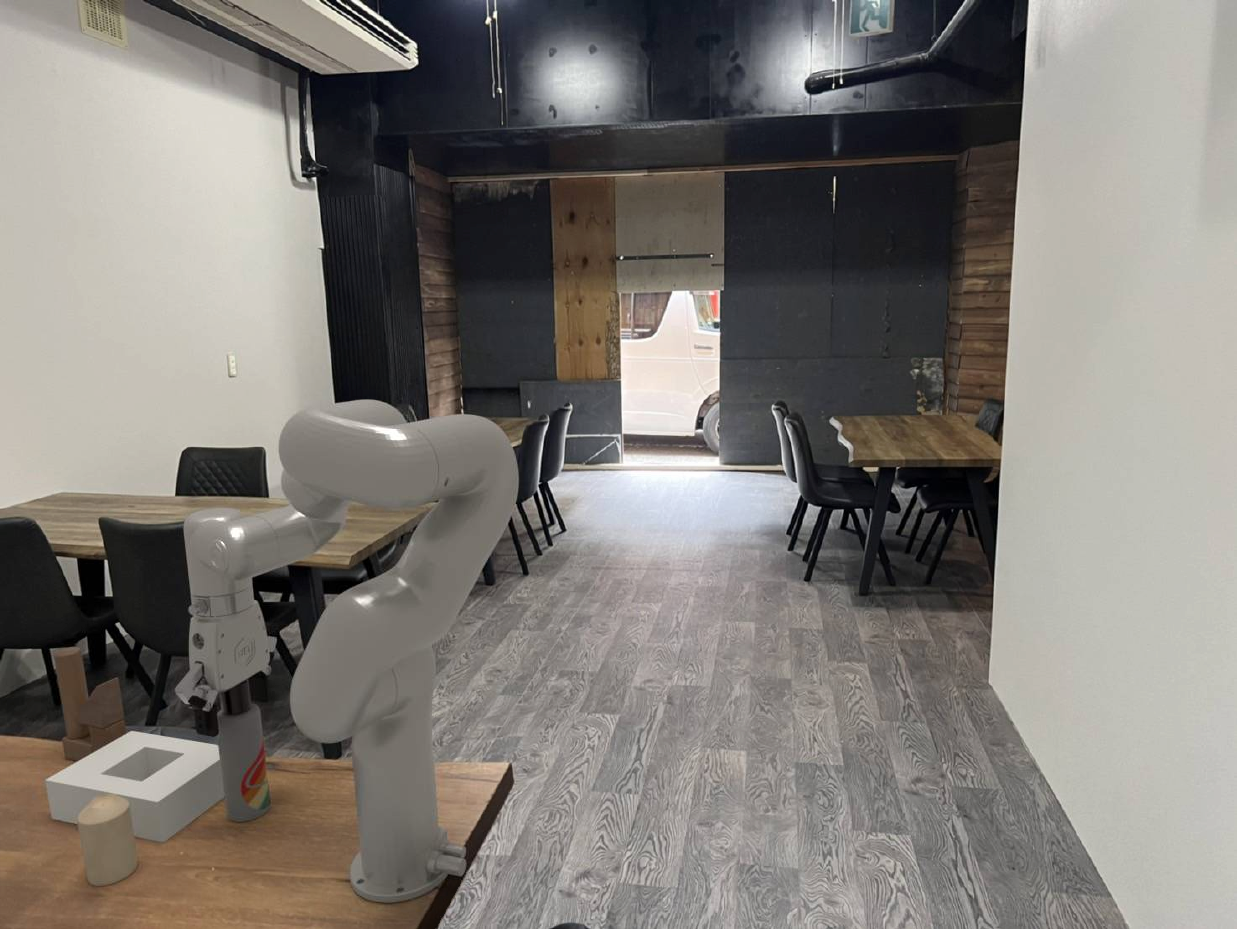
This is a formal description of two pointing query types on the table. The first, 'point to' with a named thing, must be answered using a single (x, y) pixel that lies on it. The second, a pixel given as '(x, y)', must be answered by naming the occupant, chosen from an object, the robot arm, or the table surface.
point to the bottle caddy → (143, 782)
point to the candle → (107, 840)
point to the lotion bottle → (242, 755)
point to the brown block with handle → (87, 707)
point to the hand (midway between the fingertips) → (234, 717)
